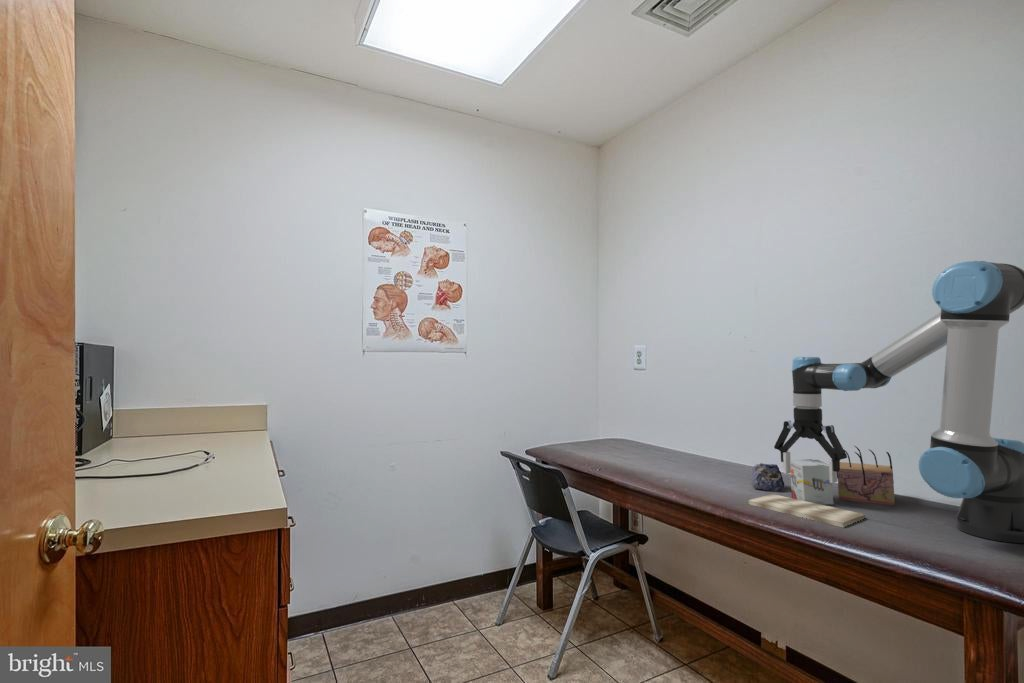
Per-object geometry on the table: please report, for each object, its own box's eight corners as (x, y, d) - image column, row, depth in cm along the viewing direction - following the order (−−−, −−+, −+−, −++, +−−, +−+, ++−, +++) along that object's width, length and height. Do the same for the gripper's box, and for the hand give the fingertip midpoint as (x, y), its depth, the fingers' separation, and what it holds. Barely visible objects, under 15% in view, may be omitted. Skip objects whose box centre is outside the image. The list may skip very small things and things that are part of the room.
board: (865, 518, 135) (865, 514, 135) (843, 527, 128) (842, 522, 128) (771, 497, 157) (771, 493, 157) (748, 504, 150) (748, 500, 151)
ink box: (790, 497, 157) (788, 459, 158) (819, 497, 156) (817, 458, 157) (803, 505, 149) (802, 464, 149) (834, 505, 148) (832, 464, 148)
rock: (792, 485, 162) (773, 456, 165) (762, 499, 163) (744, 470, 167) (786, 484, 172) (768, 457, 175) (757, 497, 173) (740, 470, 177)
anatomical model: (893, 496, 155) (891, 447, 156) (896, 505, 146) (893, 453, 147) (833, 490, 164) (831, 444, 165) (832, 498, 155) (830, 449, 155)
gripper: (859, 410, 145) (861, 484, 144) (774, 403, 166) (776, 468, 166) (846, 412, 141) (848, 488, 140) (761, 404, 162) (763, 471, 162)
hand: (809, 477), depth 153 cm, fingers open, 13 cm apart
